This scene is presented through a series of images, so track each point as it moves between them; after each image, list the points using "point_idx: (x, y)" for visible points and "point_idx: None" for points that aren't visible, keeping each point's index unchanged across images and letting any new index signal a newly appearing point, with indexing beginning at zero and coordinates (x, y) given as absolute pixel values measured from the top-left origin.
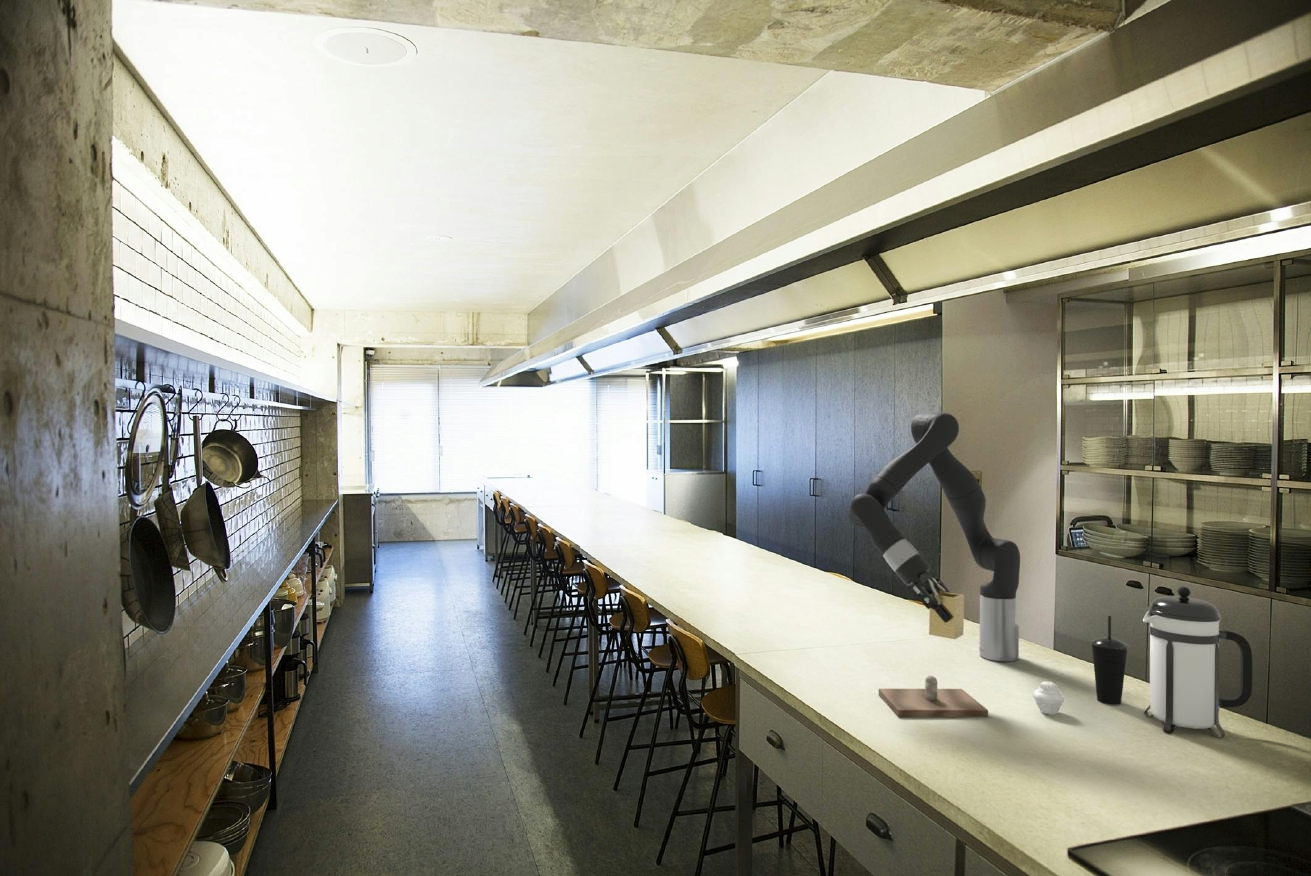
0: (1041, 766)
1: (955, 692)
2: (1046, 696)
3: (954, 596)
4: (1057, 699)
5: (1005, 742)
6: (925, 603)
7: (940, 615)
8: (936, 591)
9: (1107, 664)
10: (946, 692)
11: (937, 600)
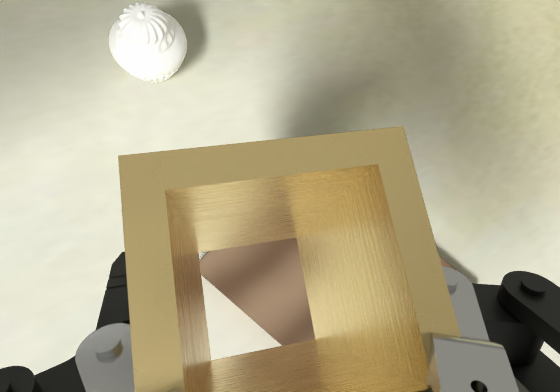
0: (444, 5)
1: (242, 263)
2: (180, 33)
3: (174, 256)
4: (170, 15)
5: (403, 76)
6: (551, 369)
7: None
8: (438, 380)
9: None
10: (262, 281)
11: (466, 297)
